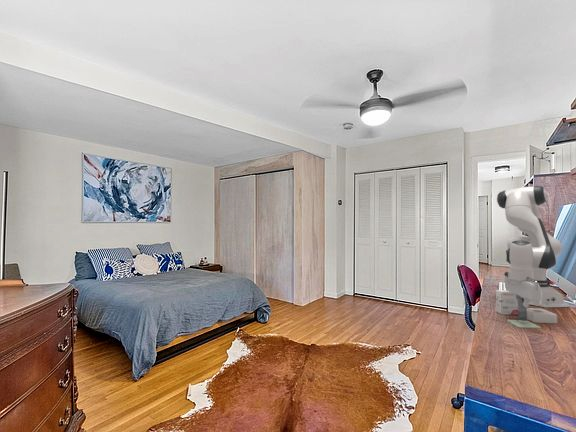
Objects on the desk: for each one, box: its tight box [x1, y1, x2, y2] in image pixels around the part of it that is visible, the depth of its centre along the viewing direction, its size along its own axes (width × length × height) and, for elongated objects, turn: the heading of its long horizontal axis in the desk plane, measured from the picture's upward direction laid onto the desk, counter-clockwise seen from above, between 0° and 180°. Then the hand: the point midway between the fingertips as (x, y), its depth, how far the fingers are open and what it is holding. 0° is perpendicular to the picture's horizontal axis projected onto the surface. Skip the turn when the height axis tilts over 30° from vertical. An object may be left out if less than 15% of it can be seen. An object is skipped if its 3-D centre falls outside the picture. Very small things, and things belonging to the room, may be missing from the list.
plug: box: [517, 297, 528, 321], centre depth 135 cm, size 3×3×10 cm
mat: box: [506, 319, 542, 330], centre depth 135 cm, size 9×9×1 cm
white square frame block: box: [527, 307, 558, 324], centre depth 142 cm, size 10×10×4 cm
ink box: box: [495, 289, 518, 316], centre depth 151 cm, size 9×5×12 cm, turn 84°
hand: (522, 305), depth 135 cm, fingers closed on plug, 3 cm apart
